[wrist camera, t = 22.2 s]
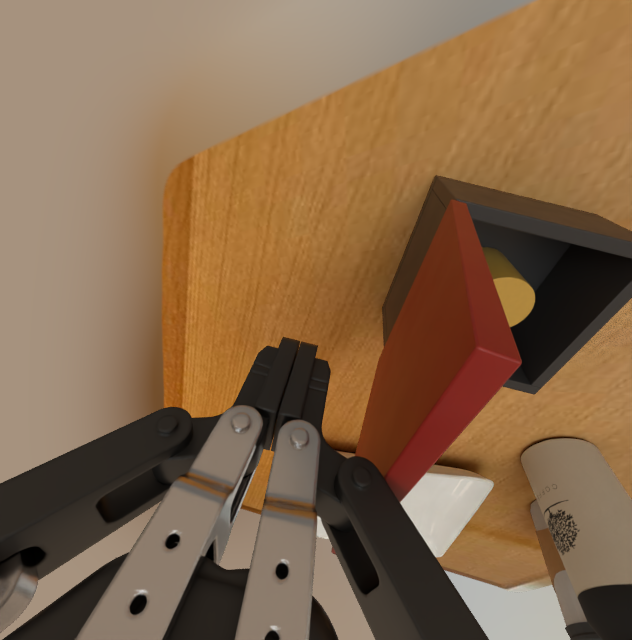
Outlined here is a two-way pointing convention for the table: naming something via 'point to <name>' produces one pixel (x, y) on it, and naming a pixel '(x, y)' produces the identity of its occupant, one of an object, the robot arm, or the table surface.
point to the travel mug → (587, 528)
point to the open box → (533, 270)
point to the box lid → (438, 358)
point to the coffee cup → (561, 581)
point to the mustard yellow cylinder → (510, 287)
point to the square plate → (440, 504)
